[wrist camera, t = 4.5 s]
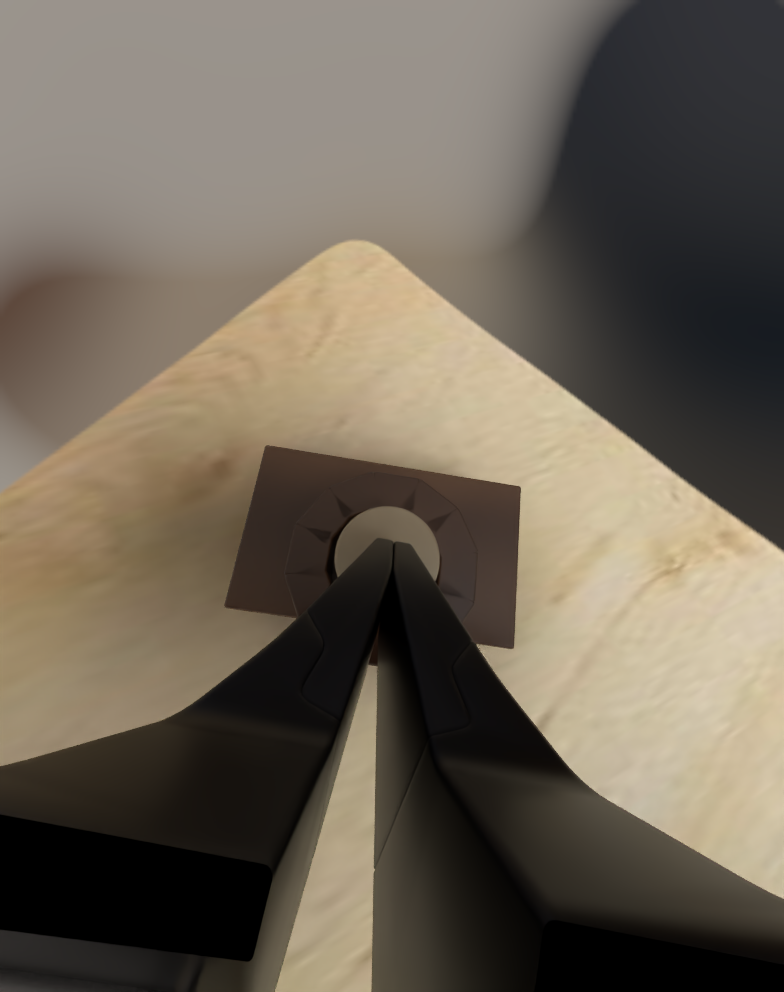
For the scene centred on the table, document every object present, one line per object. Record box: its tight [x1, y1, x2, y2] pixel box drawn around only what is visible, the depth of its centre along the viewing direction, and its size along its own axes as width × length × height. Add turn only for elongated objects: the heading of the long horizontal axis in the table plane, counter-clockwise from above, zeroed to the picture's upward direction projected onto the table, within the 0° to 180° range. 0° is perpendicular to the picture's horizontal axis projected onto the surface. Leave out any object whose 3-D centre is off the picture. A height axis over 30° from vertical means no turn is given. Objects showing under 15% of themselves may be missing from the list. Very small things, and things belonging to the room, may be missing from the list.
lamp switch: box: [335, 506, 440, 581], centre depth 11 cm, size 3×3×2 cm
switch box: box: [225, 445, 521, 666], centre depth 15 cm, size 7×10×7 cm
